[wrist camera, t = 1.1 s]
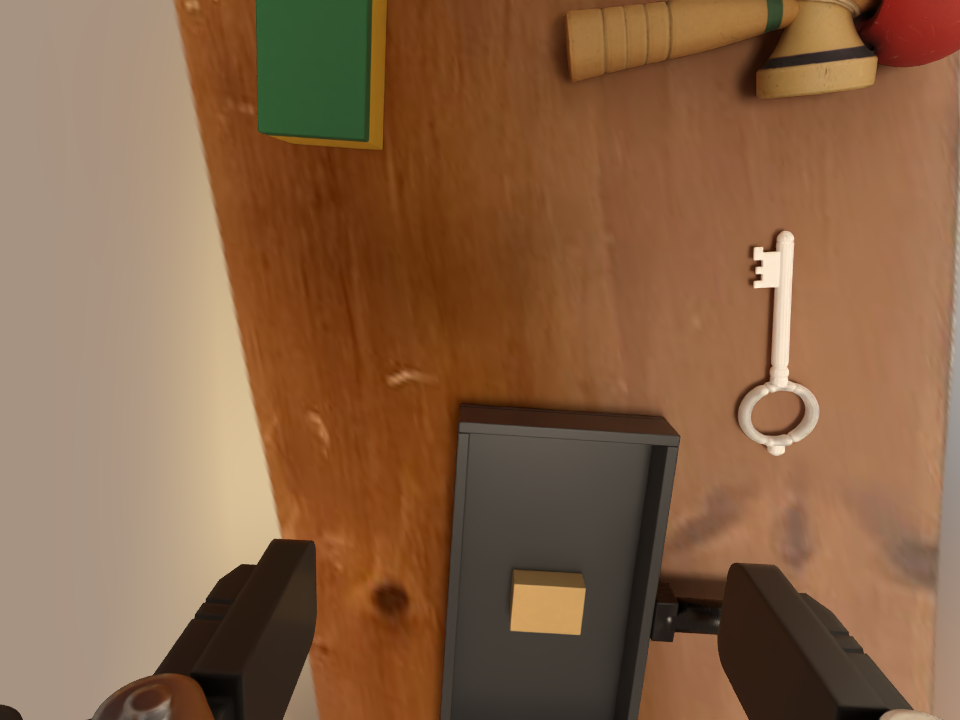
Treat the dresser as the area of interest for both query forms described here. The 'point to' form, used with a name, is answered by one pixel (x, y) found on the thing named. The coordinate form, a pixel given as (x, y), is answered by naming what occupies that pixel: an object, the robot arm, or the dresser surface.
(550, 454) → the pan
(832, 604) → the dresser surface
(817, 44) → the kendama
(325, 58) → the sponge
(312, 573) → the robot arm
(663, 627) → the pan handle
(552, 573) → the tan wooden block
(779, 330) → the key
